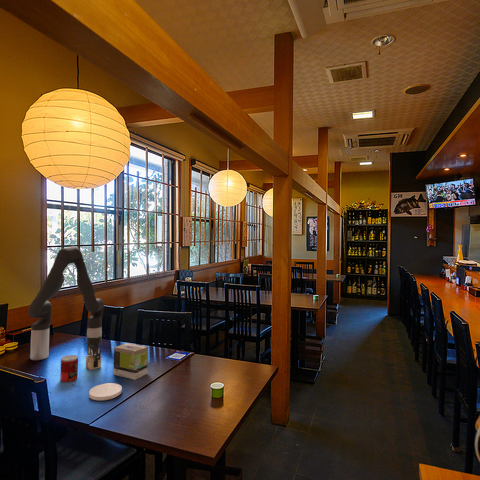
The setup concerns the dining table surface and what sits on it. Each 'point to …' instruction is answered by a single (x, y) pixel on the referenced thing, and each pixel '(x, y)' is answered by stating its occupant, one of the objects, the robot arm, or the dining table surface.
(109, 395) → the plastic lid
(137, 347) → the tea box
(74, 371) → the canned food
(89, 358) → the block
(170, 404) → the dining table surface
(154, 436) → the dining table surface
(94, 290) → the robot arm
